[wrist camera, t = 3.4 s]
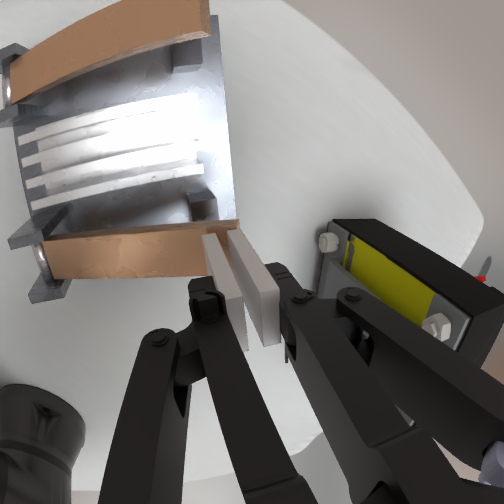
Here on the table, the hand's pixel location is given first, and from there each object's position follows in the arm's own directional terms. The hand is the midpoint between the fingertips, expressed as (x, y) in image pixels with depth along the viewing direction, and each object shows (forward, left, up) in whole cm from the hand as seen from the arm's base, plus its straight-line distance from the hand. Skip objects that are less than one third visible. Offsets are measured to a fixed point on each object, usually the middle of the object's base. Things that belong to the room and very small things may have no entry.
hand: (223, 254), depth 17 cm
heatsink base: (-6, +6, -13) cm, 15 cm away
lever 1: (-6, +13, -2) cm, 14 cm away
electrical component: (+16, -14, -13) cm, 25 cm away
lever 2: (-5, 0, -4) cm, 6 cm away
